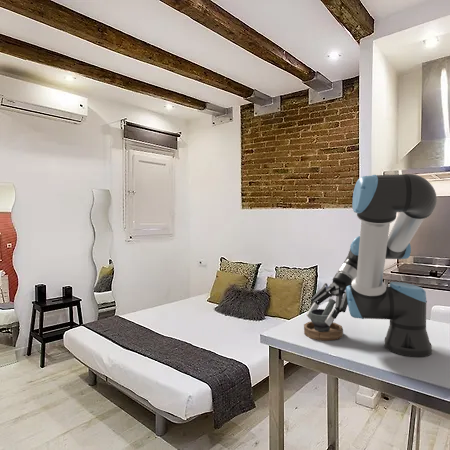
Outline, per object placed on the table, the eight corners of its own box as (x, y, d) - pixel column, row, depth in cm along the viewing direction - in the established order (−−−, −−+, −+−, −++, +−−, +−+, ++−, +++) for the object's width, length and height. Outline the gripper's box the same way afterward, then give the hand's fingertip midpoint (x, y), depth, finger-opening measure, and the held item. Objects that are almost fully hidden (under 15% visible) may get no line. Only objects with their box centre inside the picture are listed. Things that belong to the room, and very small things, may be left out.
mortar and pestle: (317, 334, 137) (316, 303, 137) (305, 326, 146) (304, 298, 146) (342, 331, 140) (342, 301, 140) (329, 324, 149) (329, 295, 149)
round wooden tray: (350, 337, 139) (350, 330, 139) (317, 342, 134) (317, 335, 134) (327, 326, 153) (327, 319, 153) (297, 330, 148) (297, 323, 148)
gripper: (371, 287, 140) (343, 333, 133) (329, 278, 160) (303, 318, 153) (362, 275, 137) (333, 322, 131) (321, 268, 157) (293, 308, 150)
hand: (317, 320), depth 142 cm, fingers closed on mortar and pestle, 10 cm apart
